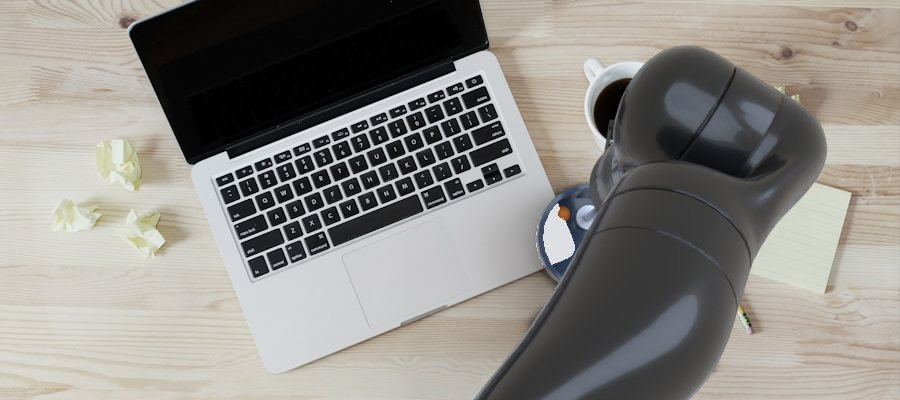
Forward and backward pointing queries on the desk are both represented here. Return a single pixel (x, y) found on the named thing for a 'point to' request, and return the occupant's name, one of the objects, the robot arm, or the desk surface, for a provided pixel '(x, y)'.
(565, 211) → the bead
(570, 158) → the desk surface
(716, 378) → the desk surface
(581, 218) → the ladle
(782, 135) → the robot arm
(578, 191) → the bowl
